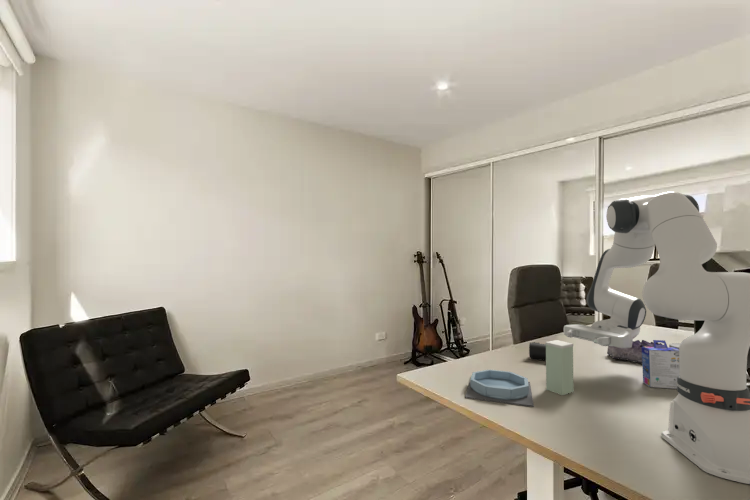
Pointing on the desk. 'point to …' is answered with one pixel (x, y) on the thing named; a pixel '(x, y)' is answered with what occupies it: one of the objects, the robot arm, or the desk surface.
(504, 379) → the bowl
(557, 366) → the tea tin
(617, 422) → the desk surface
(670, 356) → the ink cartridge box
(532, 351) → the end cap
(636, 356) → the geode
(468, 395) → the mat
